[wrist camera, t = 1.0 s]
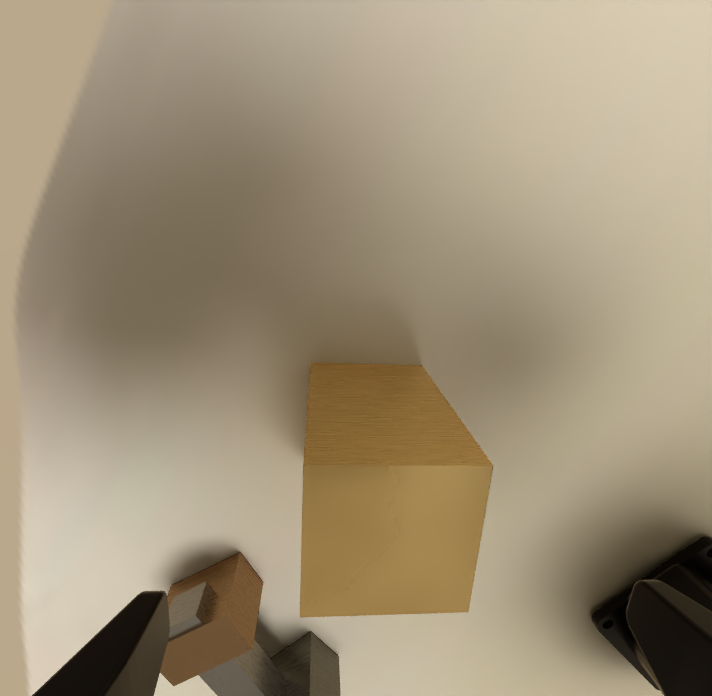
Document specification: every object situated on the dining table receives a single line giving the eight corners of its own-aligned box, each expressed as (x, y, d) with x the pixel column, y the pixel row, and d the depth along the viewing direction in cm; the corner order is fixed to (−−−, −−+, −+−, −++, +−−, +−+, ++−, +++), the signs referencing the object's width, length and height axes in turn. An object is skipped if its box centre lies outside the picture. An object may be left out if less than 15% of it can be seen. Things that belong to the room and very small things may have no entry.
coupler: (421, 365, 15) (493, 465, 9) (411, 462, 16) (467, 612, 10) (310, 362, 15) (303, 465, 8) (308, 462, 16) (299, 617, 9)
